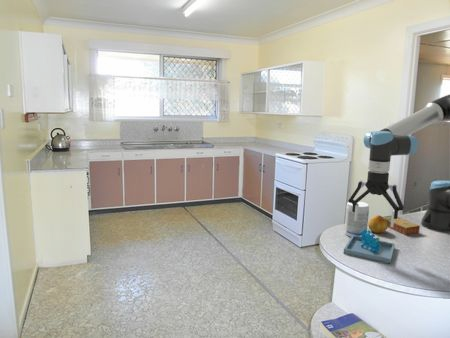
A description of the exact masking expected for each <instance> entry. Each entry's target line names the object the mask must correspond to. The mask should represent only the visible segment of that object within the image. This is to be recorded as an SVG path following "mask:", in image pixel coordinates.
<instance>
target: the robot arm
mask: <svg viewBox="0 0 450 338" xmlns="http://www.w3.org/2000/svg"><path fill="white" fill-rule="evenodd" d="M442 121H443V122H444V121H450V94H447V95H444V96H442V97H438V98H437V99H434V100H432V101H430V102H428V103H426V105H425V106H424V108H422V109H420V110H418V111H416V112H413V113H412V114H410V115H408V116H406V117H404V118H402V119H400V120H398V121H396V122H394V123H392V124H390V125H388V126H386V127H384V128H383V129H380V130H374V131H368V132H367V133H366V134H365V135H364V137H363V144H364V147H366V148H367V149H369V159H368V172H367V180H366V182H365V181H363V180H359V182H358V184H357V187H356V189H355V190H354V191H353V193H352V194H351V196H350V197H349V199H348V202H349V203H352V204H353V208H352V211H353V212H355V217H354V221H356V220H357V217H358V206H359V204H357V203H358V202H361V200H362V199H364V198H365V197H367V195H368V194H371V195H377V196H383V197H384V198H385V200H386V201H387V202H388V204H389V205H390V206H391V207H392V211H391V216H392V218H391V227H393V224H394V219H397V217H399V212H400V211H403V210H404V208H405V207H404V204H403V201H402V199H401V198H400V197H401V196H400V195H399V192H398V190H397V189H398V188H397V184H393V185H391V184H389V177H390V173H389V172H390V166H391V161H392V160H391V158H392V156H409V155H413V154H415V153H416V152H417V151H418V148H419V141H418V139H417V137H415V136H413V135H412V134H414V133H416V132H418V131H420V130H422V129H424V128H426V127H427V126H430V125H431V124H438V123H441V122H442ZM364 186H365V188H366V190H365V191H364V192H363V193H362V194H360V195H359V196H358V197H357V198H356V199H355V197H356V196H357V194H358V193H359V191H360V190H361V189H362V188H363V187H364ZM388 190H390V191H391V192H392V194H393V197H394V199H395V201H396V202H395V201H394V200H393V198H392V197H391V195H390V194H389V193H388ZM427 201H428V202H427V208H426V211H425V213H424V215H423V216H422V218H421V222H420V226H422V227H424V228H425V229H429V230H432V231H436V232H441V233H442V232H443V233H450V180H434V181H432V182H431V184H430V187H429V193H428V200H427Z"/></svg>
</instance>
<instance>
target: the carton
mask: <svg viewBox="0 0 450 338" xmlns="http://www.w3.org/2000/svg"><path fill="white" fill-rule="evenodd" d="M382 217H383V218H384V219H385V220H386V222H387V229H388V228H389V229H390V230H393V231H395V232H397V233H399V234H402V235H403V234H404V236H412V235H418V233H420V226H421V225H419V224H415V223H413V222H411V221H408V220H406V219H403V218H401V217H399V216H398V217H397V219H394V224H393V227H391V218H392V215H386V216H382ZM411 234H412V235H411Z"/></svg>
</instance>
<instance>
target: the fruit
mask: <svg viewBox="0 0 450 338" xmlns="http://www.w3.org/2000/svg"><path fill="white" fill-rule="evenodd" d="M383 217H384V216H382V215H375V216H372V217H371V218H370V219H368V225H367V227H368V228H369V231H371V232H373V233H374V234H375V233H376V234H382V233H384V232H386V231H387V229H388V227H387V222H386V220H385V219H384V218H383Z"/></svg>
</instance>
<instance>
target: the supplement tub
mask: <svg viewBox="0 0 450 338" xmlns="http://www.w3.org/2000/svg"><path fill="white" fill-rule="evenodd" d="M357 204H359V206H358V217H357V220H356V221H354V217H355V212H353V211H352V208H353V204H352V203H349V202H347V203H346V208H345V209H346V210H345V221H344V234H345V236H349V237H350V238H351V237H352V235H355V236H361V235H362V234H361V232H362V231H363V230H364V229H365V230H367V231H368V223H369V215H370V214H369V213H370V205H369V204H368V203H366V202H365V201H364V202H363V201H359V202H358V203H357Z"/></svg>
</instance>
